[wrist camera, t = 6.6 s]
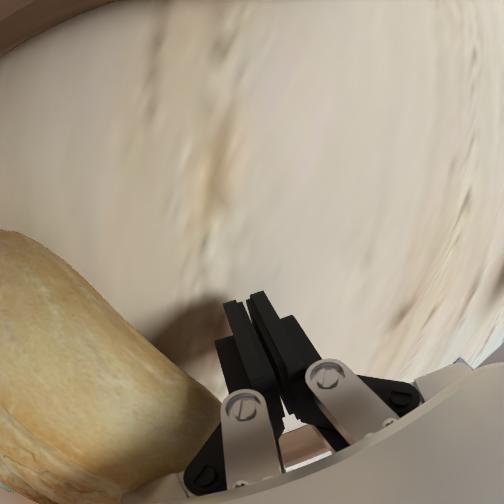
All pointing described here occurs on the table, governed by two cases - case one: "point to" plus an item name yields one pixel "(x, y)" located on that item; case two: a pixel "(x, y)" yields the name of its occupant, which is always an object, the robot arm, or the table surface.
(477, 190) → the table surface
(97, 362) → the bread roll
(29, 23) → the box
